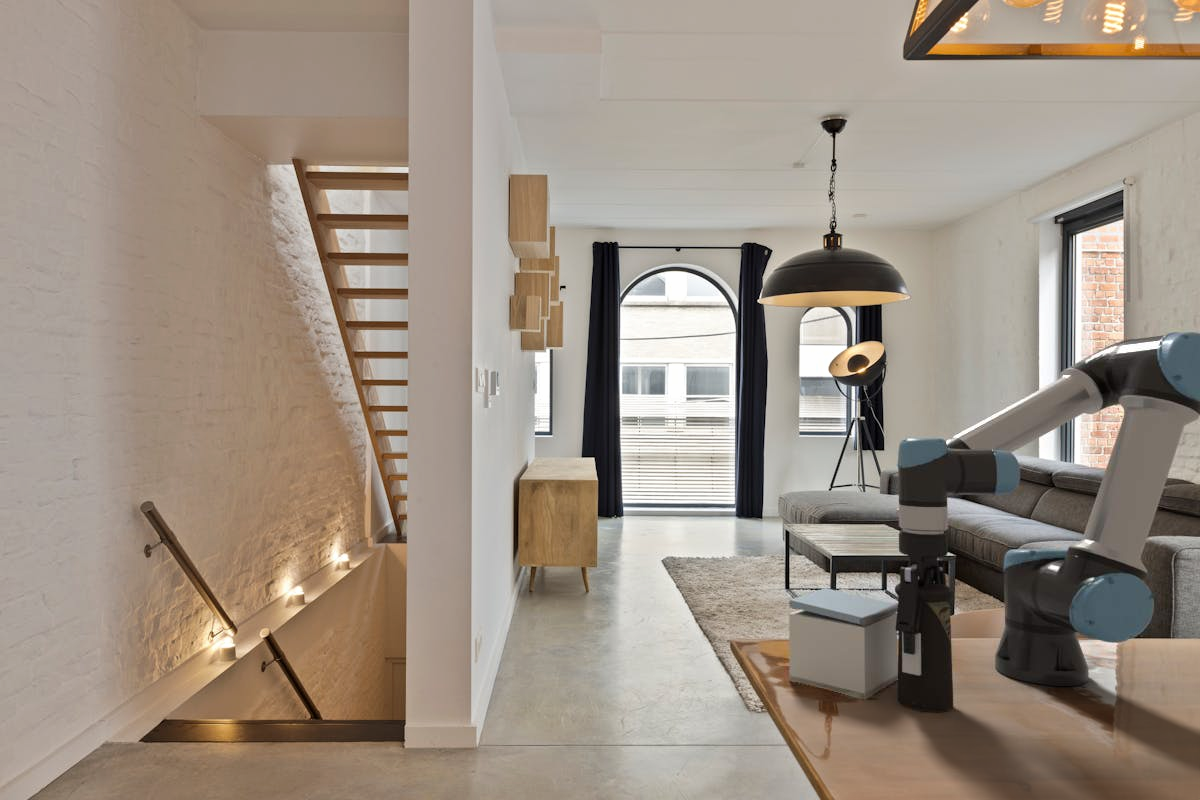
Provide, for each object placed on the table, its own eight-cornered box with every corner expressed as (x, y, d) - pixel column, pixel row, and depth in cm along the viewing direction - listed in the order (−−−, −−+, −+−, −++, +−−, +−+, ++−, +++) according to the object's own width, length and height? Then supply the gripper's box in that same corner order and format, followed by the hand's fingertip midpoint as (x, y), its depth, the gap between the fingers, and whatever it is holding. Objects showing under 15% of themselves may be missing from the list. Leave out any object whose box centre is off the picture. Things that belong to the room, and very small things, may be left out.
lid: (788, 607, 139) (789, 599, 139) (825, 594, 150) (825, 587, 150) (867, 627, 129) (868, 618, 129) (901, 612, 140) (901, 604, 140)
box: (897, 679, 140) (897, 613, 140) (864, 699, 130) (864, 627, 130) (825, 663, 149) (825, 600, 150) (789, 680, 139) (789, 613, 139)
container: (960, 715, 123) (958, 588, 123) (900, 711, 125) (899, 586, 125) (947, 697, 131) (946, 578, 132) (891, 693, 133) (890, 576, 134)
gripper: (924, 522, 140) (926, 646, 139) (872, 535, 123) (873, 676, 122) (968, 526, 135) (970, 655, 134) (920, 540, 118) (921, 687, 117)
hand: (924, 665), depth 128 cm, fingers open, 10 cm apart
